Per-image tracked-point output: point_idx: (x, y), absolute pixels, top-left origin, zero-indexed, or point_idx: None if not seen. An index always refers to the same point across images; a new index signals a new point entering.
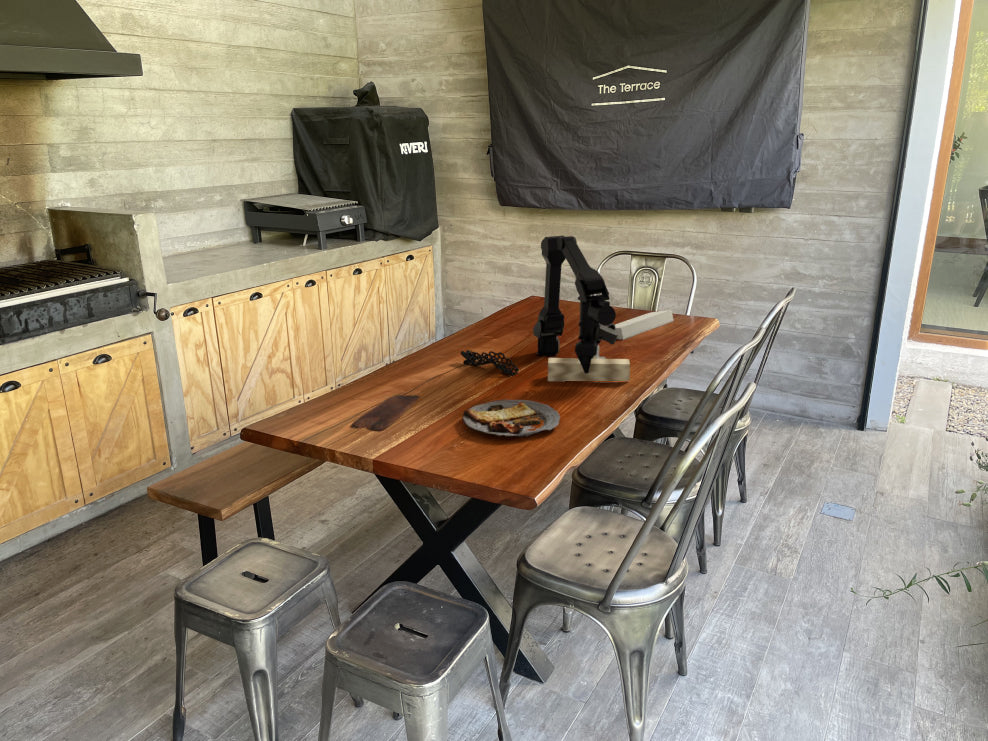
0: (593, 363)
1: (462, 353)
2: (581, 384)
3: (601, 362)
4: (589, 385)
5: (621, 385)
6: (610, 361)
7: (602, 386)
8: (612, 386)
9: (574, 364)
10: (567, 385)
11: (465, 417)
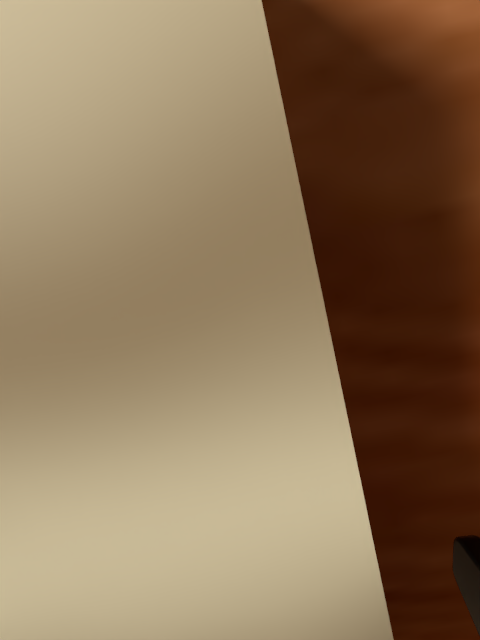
0: (380, 637)
1: None
2: (417, 480)
3: (248, 509)
4: (434, 408)
5: (359, 26)
6: (55, 309)
7: (445, 272)
8: (425, 149)
9: None
10: None
11: None
